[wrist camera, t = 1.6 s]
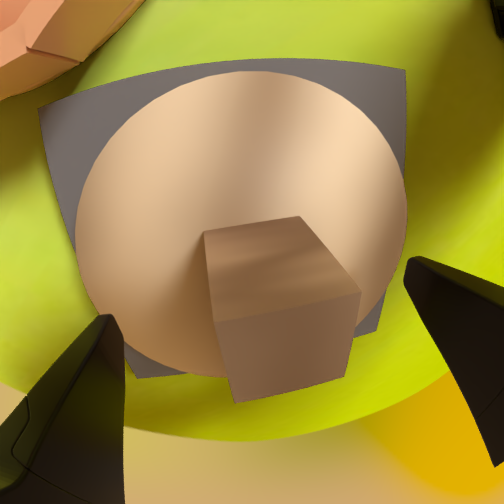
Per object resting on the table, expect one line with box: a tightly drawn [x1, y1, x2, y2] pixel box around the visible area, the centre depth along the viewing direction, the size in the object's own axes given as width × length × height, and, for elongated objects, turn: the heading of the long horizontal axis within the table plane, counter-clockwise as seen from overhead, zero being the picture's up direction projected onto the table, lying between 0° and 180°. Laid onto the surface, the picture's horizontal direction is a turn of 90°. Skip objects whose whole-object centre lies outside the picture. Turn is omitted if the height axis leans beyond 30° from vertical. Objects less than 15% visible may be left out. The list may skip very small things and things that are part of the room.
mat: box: [38, 58, 406, 379], centre depth 11 cm, size 13×13×1 cm
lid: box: [75, 71, 407, 403], centre depth 8 cm, size 12×12×5 cm
